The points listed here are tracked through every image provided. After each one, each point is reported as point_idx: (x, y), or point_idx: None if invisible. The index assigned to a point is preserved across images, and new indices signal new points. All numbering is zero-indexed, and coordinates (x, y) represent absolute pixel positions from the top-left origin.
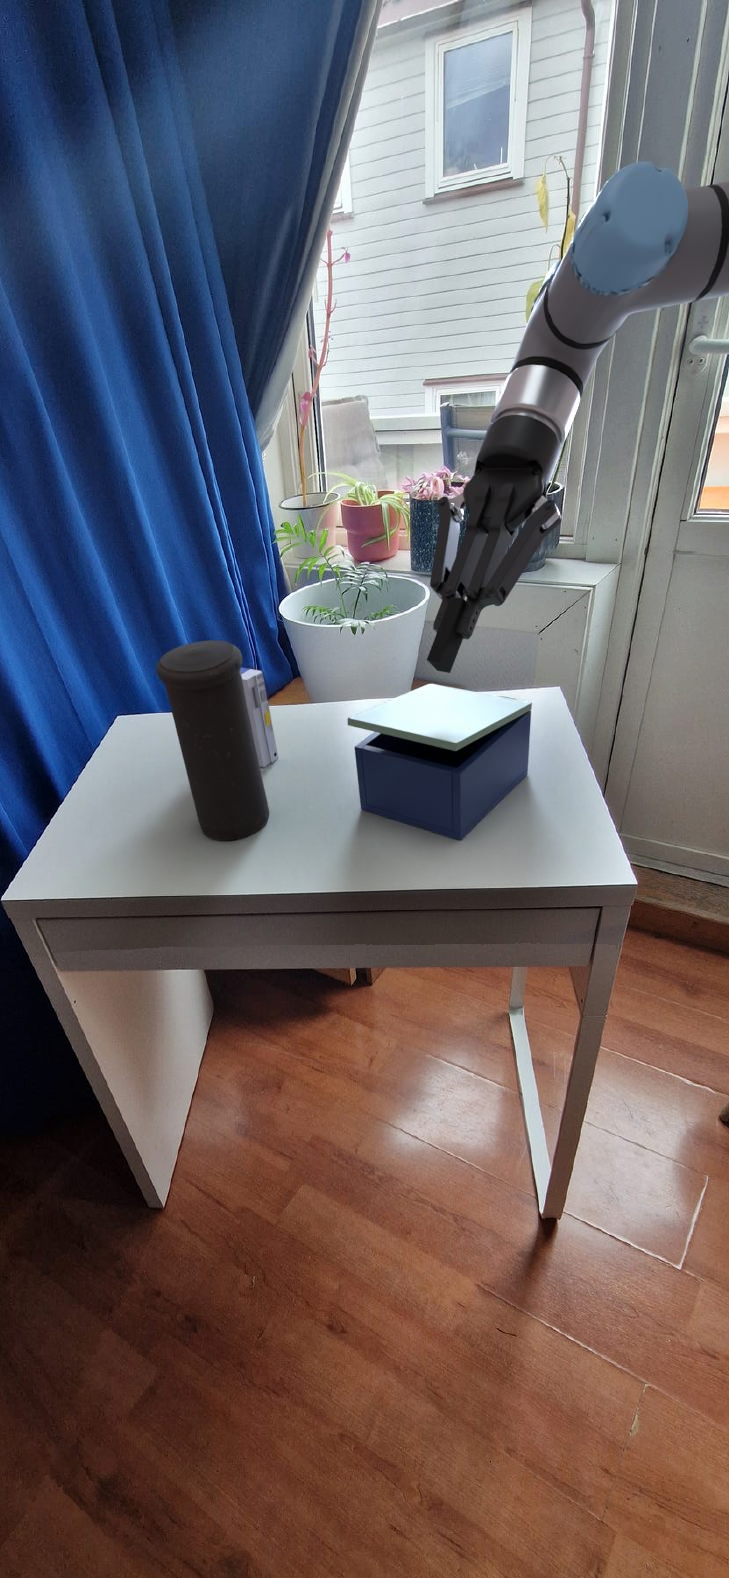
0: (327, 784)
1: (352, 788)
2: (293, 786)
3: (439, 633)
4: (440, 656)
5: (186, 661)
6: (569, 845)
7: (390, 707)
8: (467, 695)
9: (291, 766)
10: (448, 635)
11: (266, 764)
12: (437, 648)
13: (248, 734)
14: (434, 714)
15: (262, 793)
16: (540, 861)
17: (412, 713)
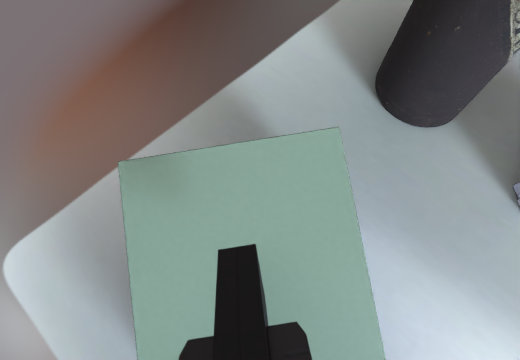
0: (402, 209)
1: (366, 222)
2: (433, 178)
3: (251, 298)
4: (221, 258)
5: None
6: (63, 285)
7: (329, 225)
8: None
9: (486, 212)
10: (218, 301)
11: (516, 191)
12: (238, 269)
13: (436, 20)
14: None
15: (399, 88)
16: (78, 239)
17: (274, 227)
